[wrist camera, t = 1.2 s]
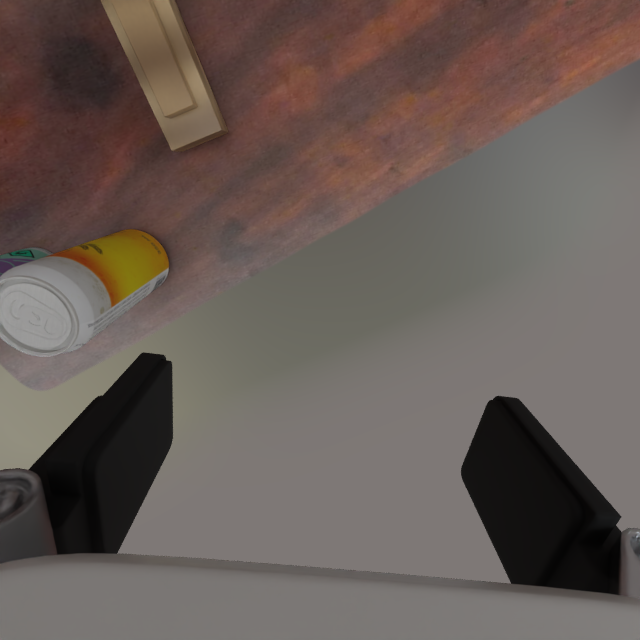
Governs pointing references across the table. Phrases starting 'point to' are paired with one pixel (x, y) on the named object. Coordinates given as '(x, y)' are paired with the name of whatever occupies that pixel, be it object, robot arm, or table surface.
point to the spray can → (21, 257)
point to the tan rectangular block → (167, 70)
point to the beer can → (78, 291)
